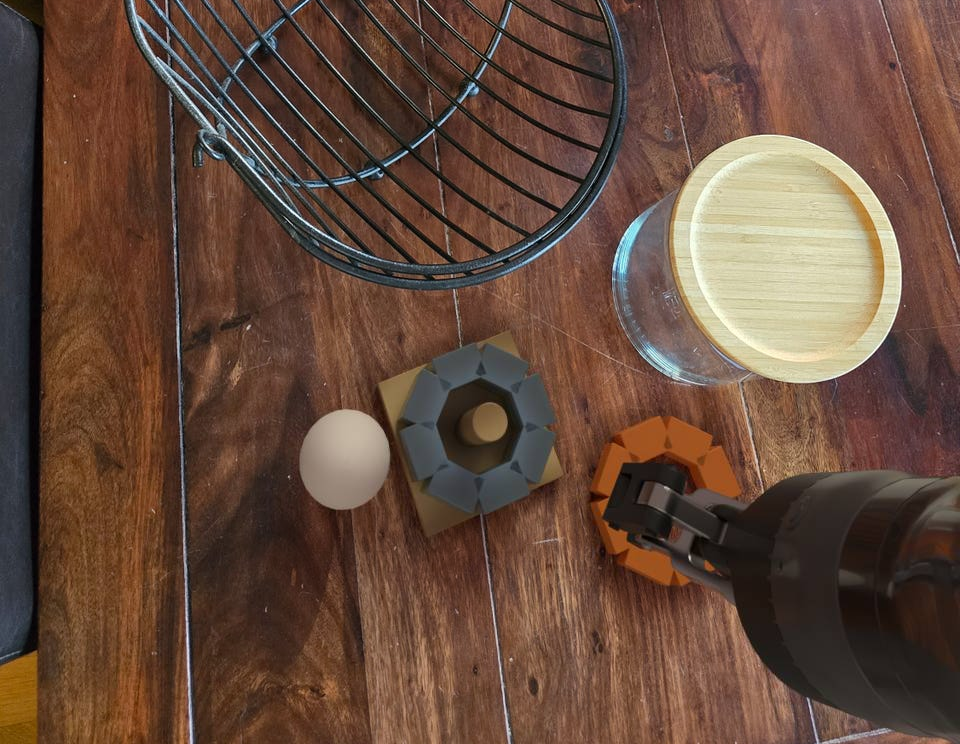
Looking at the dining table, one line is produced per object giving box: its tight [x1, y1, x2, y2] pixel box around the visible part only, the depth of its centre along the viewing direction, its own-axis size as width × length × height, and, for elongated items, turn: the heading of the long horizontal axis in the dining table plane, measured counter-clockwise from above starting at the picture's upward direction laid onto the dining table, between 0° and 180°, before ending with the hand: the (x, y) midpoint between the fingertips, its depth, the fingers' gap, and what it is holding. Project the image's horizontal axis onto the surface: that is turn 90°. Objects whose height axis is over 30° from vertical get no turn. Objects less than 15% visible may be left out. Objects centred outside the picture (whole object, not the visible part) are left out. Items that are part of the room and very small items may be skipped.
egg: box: [298, 408, 391, 511], centre depth 67 cm, size 5×5×7 cm
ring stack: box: [376, 329, 565, 538], centre depth 68 cm, size 9×9×9 cm
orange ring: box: [589, 415, 743, 587], centre depth 71 cm, size 9×9×2 cm
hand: (721, 567), depth 54 cm, fingers open, 8 cm apart
